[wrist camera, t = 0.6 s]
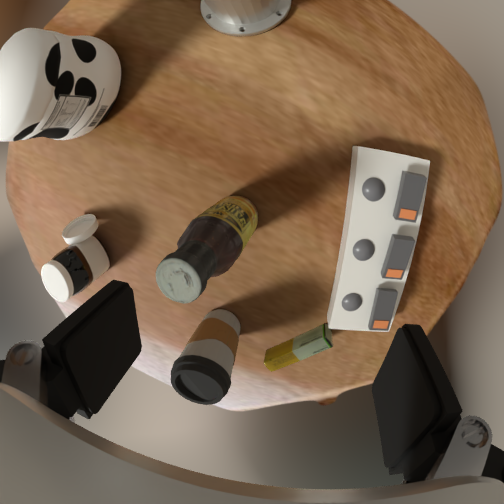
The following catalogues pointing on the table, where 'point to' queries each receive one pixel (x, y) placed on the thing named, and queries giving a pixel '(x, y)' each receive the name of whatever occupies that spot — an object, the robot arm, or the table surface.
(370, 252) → the rocker switch panel
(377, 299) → the rocker
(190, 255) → the sauce bottle
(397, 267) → the rocker middle
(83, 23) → the table surface
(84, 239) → the spread jar
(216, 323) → the coffee cup
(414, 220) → the rocker
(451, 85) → the table surface
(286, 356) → the medication box
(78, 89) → the milk container
